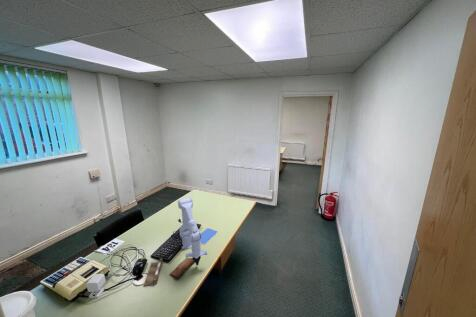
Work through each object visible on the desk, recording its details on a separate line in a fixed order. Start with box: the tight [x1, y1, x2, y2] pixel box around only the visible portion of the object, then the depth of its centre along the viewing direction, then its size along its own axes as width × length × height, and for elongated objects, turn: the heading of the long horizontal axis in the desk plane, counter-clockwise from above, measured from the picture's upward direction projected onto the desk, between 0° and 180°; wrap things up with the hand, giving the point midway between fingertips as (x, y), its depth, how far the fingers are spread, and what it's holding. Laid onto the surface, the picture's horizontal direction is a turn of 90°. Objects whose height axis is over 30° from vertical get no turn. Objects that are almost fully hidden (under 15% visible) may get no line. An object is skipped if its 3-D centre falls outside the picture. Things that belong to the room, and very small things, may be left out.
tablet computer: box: [200, 227, 219, 246], centre depth 161 cm, size 19×13×1 cm, turn 151°
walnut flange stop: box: [143, 258, 164, 287], centre depth 123 cm, size 18×8×4 cm, turn 10°
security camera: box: [85, 273, 107, 299], centre depth 110 cm, size 6×7×10 cm
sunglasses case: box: [169, 257, 195, 280], centre depth 128 cm, size 18×7×7 cm
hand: (197, 264), depth 128 cm, fingers closed
